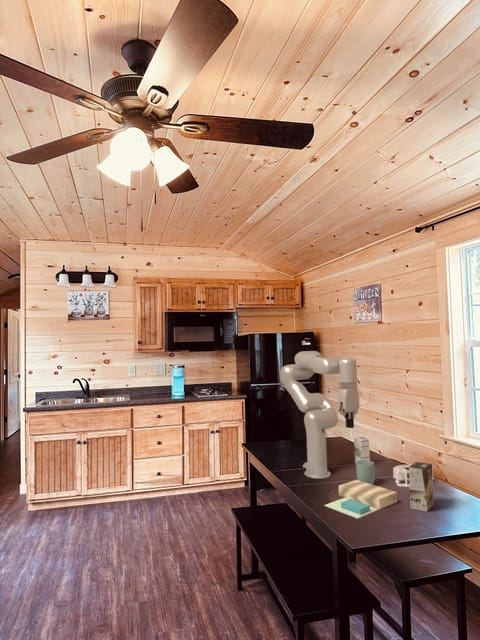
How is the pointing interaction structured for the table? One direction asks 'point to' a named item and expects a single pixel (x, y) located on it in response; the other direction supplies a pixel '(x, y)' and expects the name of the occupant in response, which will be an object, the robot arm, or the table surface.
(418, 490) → the coffee box
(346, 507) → the teal flat block
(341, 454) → the table surface
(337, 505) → the mat
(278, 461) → the table surface
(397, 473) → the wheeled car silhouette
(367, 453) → the syrup box
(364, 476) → the cup
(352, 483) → the deck
